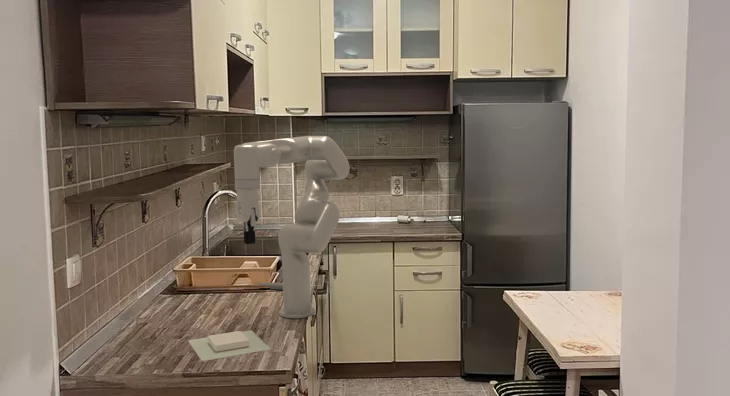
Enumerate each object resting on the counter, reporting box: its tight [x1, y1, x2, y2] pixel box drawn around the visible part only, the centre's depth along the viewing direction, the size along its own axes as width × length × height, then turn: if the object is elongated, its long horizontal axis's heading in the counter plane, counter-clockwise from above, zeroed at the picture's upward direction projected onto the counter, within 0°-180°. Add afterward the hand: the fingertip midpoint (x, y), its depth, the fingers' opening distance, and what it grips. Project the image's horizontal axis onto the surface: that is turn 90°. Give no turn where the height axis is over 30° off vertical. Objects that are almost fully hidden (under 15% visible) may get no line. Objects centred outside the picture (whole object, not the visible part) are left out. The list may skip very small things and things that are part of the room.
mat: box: [187, 329, 271, 362], centre depth 196 cm, size 20×20×1 cm
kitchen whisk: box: [256, 277, 332, 296], centre depth 259 cm, size 6×34×6 cm, turn 68°
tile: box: [207, 330, 249, 352], centre depth 196 cm, size 2×10×10 cm
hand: (249, 243), depth 204 cm, fingers closed
